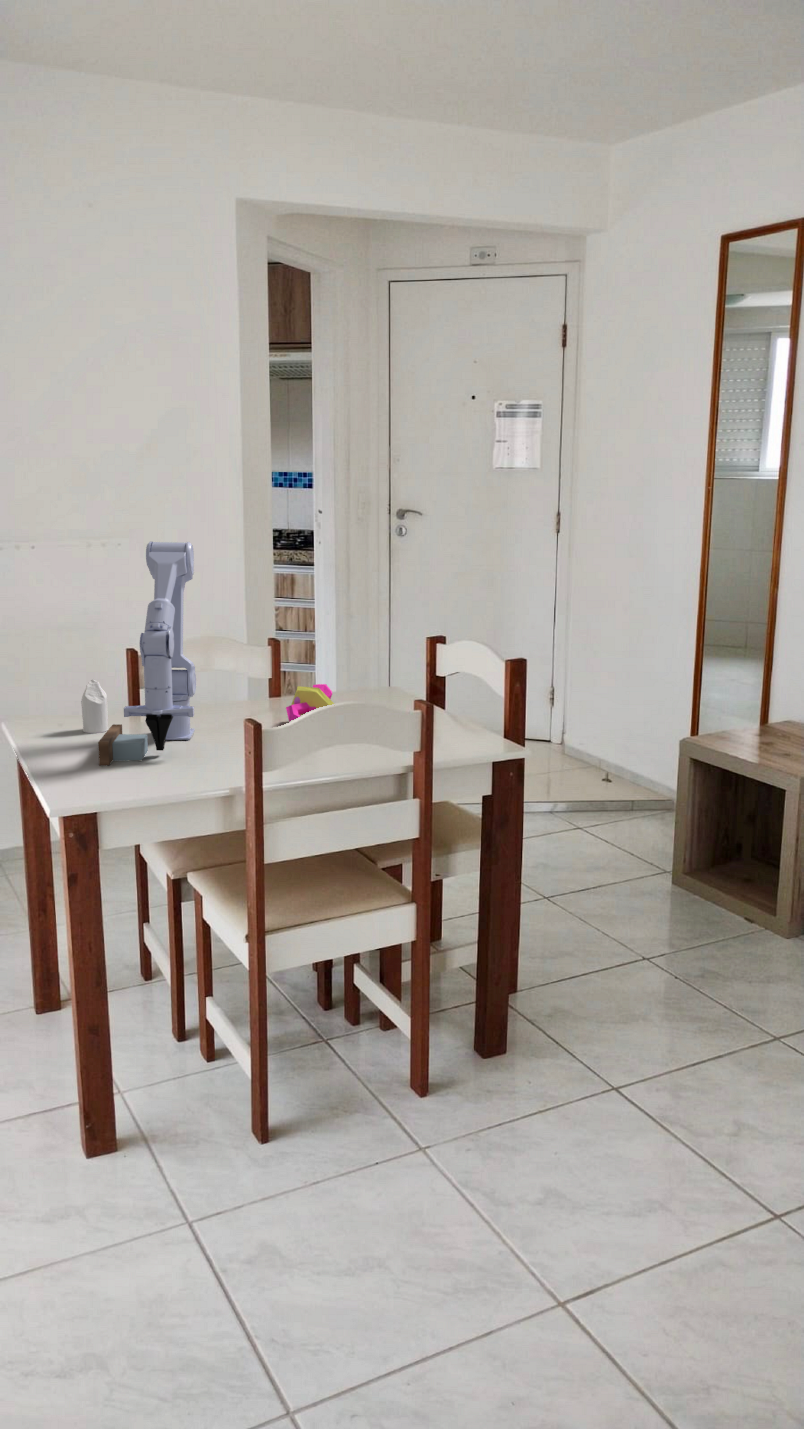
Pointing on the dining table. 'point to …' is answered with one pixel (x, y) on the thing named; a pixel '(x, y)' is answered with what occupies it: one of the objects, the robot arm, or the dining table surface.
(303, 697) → the toy
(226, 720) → the dining table surface
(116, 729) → the walnut board
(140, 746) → the slate block
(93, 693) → the crumpled white cylinder
